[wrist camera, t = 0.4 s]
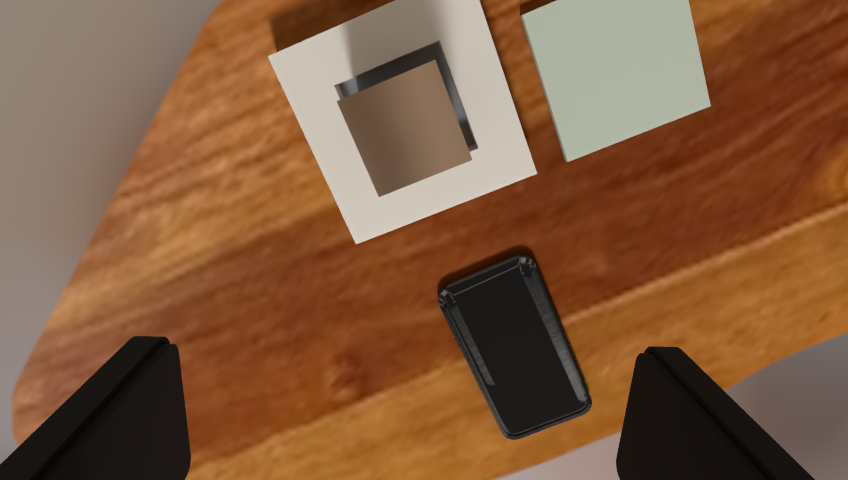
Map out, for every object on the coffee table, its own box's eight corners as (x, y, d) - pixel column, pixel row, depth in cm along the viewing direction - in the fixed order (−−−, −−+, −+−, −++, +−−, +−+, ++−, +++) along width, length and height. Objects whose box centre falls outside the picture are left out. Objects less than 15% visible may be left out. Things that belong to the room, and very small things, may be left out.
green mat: (672, -49, 31) (677, -52, 31) (705, 105, 34) (710, 105, 34) (520, 15, 32) (522, 14, 32) (565, 160, 35) (567, 161, 35)
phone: (531, 252, 37) (596, 410, 41) (528, 247, 38) (591, 401, 42) (432, 294, 38) (505, 444, 42) (431, 288, 39) (503, 435, 43)
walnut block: (429, 63, 33) (435, 59, 23) (456, 135, 34) (472, 159, 25) (358, 93, 33) (336, 101, 24) (388, 163, 35) (378, 197, 25)
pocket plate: (464, -25, 32) (468, -33, 29) (529, 167, 35) (537, 173, 33) (277, 57, 33) (267, 56, 31) (359, 233, 37) (356, 244, 34)
